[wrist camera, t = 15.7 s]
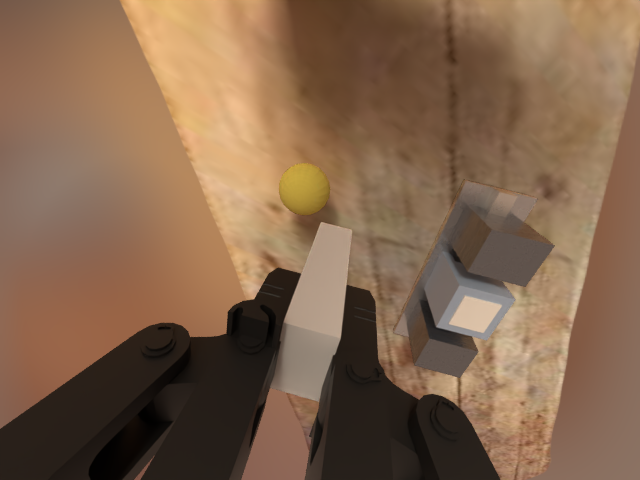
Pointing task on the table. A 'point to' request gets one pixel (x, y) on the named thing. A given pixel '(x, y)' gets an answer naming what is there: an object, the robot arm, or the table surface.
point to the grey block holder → (472, 267)
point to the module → (465, 299)
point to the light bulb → (304, 189)
